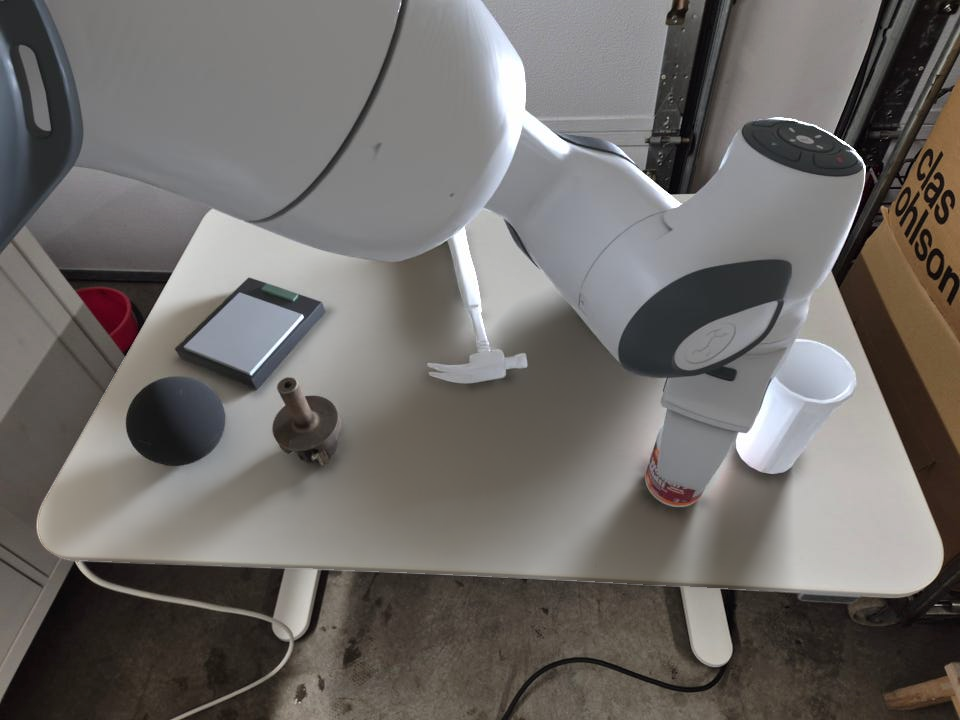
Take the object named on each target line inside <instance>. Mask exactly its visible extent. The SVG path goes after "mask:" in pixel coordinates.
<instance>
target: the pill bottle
mask: <svg viewBox="0 0 960 720" xmlns="http://www.w3.org/2000/svg"><path fill="white" fill-rule="evenodd" d="M662 431H663V425H662V426H661V427H660V428H659V430H658V433H657V435H656V438H655V442H654V445H653V448H652V451H651V454H650V456H649V457H650V458H649V460H648V464H647V466H646V470H645V474H644V481H645V485H646V488H647V489H648V492H649V493H650V494H651V495H652V496H653V497H654V498H655V499H656V500H657V501H659V502H660V503H661V504H664V505H666V506H669V507H672V508H684V507H688V506H691V505H693V504H695V503H696V502H698V501H699V499H701V497H702V495H703V493H704V492H705V489H706V487H707V485H706V486H705V487H704V488H703V489H701V490H693V489H689V488H685V487H682V486H679V485H677V484H674V483H672V482H669V481H667V480H665V479H664V478H662V477H661V476H660V475H659V474H658V471H657V463H658V456H659V449H660V443H661V437H662Z"/></svg>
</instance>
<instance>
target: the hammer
mask: <svg viewBox="0 0 960 720" xmlns="http://www.w3.org/2000/svg"><path fill="white" fill-rule="evenodd" d="M467 239H468V238H467V234H466V228H465V227H464V228H463V229H462V230H460V231H459V232H458V233H457V234H455V235H454V236H453V237H451V238H450V239H448V240H446V241H447V243H448V244H447V245H448V246H449V251H450V253H451V258H452V262H453V266H454V272H455V277H456V282H457V286H458V289H459V293H460V296H461V299H462V302H463V305H464V308H465V312H466V314H467V315H468V316H469V317H470V320H471V326H472V329H473V333H474V338H475V343H476V345H475V346H476V349H477V350H476V351H477V352H476V353H472V354H470V355H469V361H468V363H462V364H441V363H432V362H427V363H426V364H427V367H428V368H430V369H433V370H437V371H440V372H436V371H428V375H429V376H430V377H434V378H437V379H440V380H444V381H447V382H451V383H456V384H475V383H480V382H481V383H483V382H486V381H492V380H498V379H503V378H505V377H506V375H507V370H510V369H518V370H519V369H525V368H527V367H528V360H527V359H528V358H527V355H526V353H525V352H522V353H516V354H515V355H512V356H507V357H506V356H505V354H504V352H503V350H500V349H494V350H491V347H490V342H489V340H488V338H487V333H486V330H485V326H484V322H483V318H482V314H481V313H482V303H481V296H480V290H479V284H478V280H477V275H476V271H475V266H474V264H473V261H472V257H471V254H470V249H469V244H468V240H467Z"/></svg>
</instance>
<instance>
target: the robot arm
mask: <svg viewBox="0 0 960 720" xmlns="http://www.w3.org/2000/svg"><path fill="white" fill-rule="evenodd" d="M519 55H520V54H518V52H517V50H516V49H515V47H514V46H513V44H512V42H511V41H510V40H509V38H508V36H507V35H506V34H505V32H504V31H503V29H502V28H501V26H500V25H499V23H498V22H497V21H496V19H495V17H494V16H493V15H492V13H491V12H490V11H489V9H488V8H487V6H486V5H485V3H484V2H483V1H482V0H0V255H1V254H2V253H3V252H4V251H5V249H6V248H7V247H8V246H9V245H10V244H11V242H12V241H13V240H14V239H15V238H16V237H17V235H18V234H19V233H20V232H21V230H22V229H23V228H24V227H25V226H26V224H27V223H28V222H29V221H30V220H31V218H32V217H33V216H34V215H35V214H36V213H37V212H38V210H39V209H40V208H41V207H42V205H43V204H44V203H45V202H46V201H47V200H48V199H49V197H50V196H51V195H52V193H53V192H54V191H55V190H56V188H57V187H58V186H59V185H60V184H61V182H62V181H63V180H64V179H65V178H66V176H67V175H68V174H69V173H70V172H71V170H72V169H73V168H74V167H76V168H82V169H83V168H84V169H91V170H96V171H101V172H104V173H108V174H112V175H117V176H120V177H122V178H123V177H124V178H127V179H131V180H134V181H138V182H141V183H144V184H147V185H151V186H152V187H156V188H159V189H162V190H164V191H167V192H169V193H172V194H175V195H177V196H180V197H183V198H185V199H188V200H190V201H193V202H195V203H198V204H200V205H203V206H205V207H206V208H210V209H212V210H215V211H217V212H220V213H222V214H224V215H227V216H228V217H231V218H234V219H237V220H239V221H243V222H245V223H247V224H250V225H252V226H255V227H257V228H259V229H262V230H265V231H267V232H270V233H273V234H275V235H278V236H279V237H282V238H284V239H288V240H291V241H294V242H296V243H298V244H302V245H305V246H308V247H311V248H313V249H317V250H320V251H323V252H326V253H327V252H328V253H330V254H334V255H338V256H343V257H349V258H356V259H360V260H361V259H362V260H368V261H376V262H385V263H386V262H388V263H398V262H402V261H405V260H408V259H411V258H414V257H417V256H419V255H422V254H424V253H426V252H429V251H431V250H432V249H435V248H437V247H438V246H440V245H442V244H443V243H445V242H446V241H447V240H448V239H450V238H451V237H453V236H454V235H455V234H457V233H458V232H459V231H460V230H462V229H463V228H465V227H466V226H468V225H469V224H470V223H471V222H472V221H473V220H474V219H475V218H476V217H477V215H478V214H479V213H480V212H481V211H482V210H483V209H484V210H486V211H488V212H490V213H492V214H494V215H497V216H498V217H500V218H501V219H503V221H504V223H505V225H506V227H507V230H508V232H509V234H510V237H511V238H512V240H513V242H514V243H515V245H516V246H517V248H518V249H519V250H520V251H521V252H522V253H523V255H524V256H526V257H527V258H528V260H530V261H531V263H532V264H534V266H535V267H537V269H539V270H540V271H541V272H542V273H543V274H544V275H545V276H546V278H547V279H548V280H549V282H551V284H552V285H553V286H554V287H555V288H556V290H557V291H558V292H559V293H560V294H561V296H562V297H563V298H564V299H565V301H566V302H567V303H568V304H569V305H570V306H571V308H572V309H573V310H574V311H575V312H576V314H577V315H578V316H579V317H580V319H582V321H583V322H584V324H585V325H586V326H587V327H588V328H589V329H590V331H591V332H592V333H593V335H594V336H596V338H597V339H598V341H600V342H601V344H602V345H603V346H604V347H605V349H607V351H608V352H609V353H610V355H612V357H614V359H615V360H617V362H619V364H620V365H621V366H622V367H623V369H624V370H625V371H627V372H628V373H629V374H633V375H636V376H639V377H646V378H652V379H665V382H664V385H663V388H662V395H661V399H660V404H661V406H662V407H663V408H666V411H665V414H664V415H665V416H664V420H663V425H662V426H663V431H662V437H661V443H660V449H659V456H658V463H657V471H658V474H659V475H660V476H661V477H662V478H664V479H665V480H667V481H669V482H672V483H674V484H677V485H679V486H682V487H685V488H689V489H693V490H701V489H703V488H704V487H705V486H706V487H707V485H709V483H710V481H712V479H713V478H714V476H715V474H716V472H717V471H718V470H719V468H720V466H721V465H722V463H723V462H724V460H725V458H726V457H727V455H728V454H729V452H730V450H731V448H733V445H734V443H735V442H736V438H737V436H738V433H739V432H741V433H748V432H749V431H750V430H751V428H752V426H753V424H754V422H755V420H756V417H757V415H758V413H759V411H760V408H761V406H762V403H763V400H764V397H765V394H766V391H767V389H768V386H769V384H770V382H771V381H772V380H773V378H774V377H775V376H776V374H777V373H778V371H779V370H780V368H781V366H782V364H783V363H784V361H785V359H786V357H787V355H788V353H789V351H790V349H791V347H792V345H793V343H794V341H795V340H796V339H798V335H799V334H800V332H801V330H802V327H803V326H804V324H805V322H806V320H807V318H808V315H809V312H810V311H809V310H810V303H811V297H812V295H813V294H815V292H816V291H818V290H819V289H820V288H821V287H822V286H823V284H824V283H825V281H827V279H828V277H829V276H830V273H831V271H832V270H833V268H834V266H835V264H836V261H837V260H838V258H839V256H840V253H841V251H842V249H843V247H844V245H845V243H846V240H847V238H848V236H849V233H850V230H851V228H852V226H853V223H854V220H855V219H856V218H855V217H856V216H857V212H858V209H859V206H860V202H861V200H862V196H863V191H864V187H865V181H866V165H865V163H864V160H863V158H862V157H861V155H859V154H858V151H857V150H856V149H854V148H853V147H852V146H850V144H847V143H846V142H845V141H843V140H842V139H840V138H838V137H837V136H835V134H832V133H831V132H829V131H826V130H824V129H822V128H820V127H818V126H817V125H814V124H811V123H807V122H803V121H800V120H799V121H798V120H797V119H794V118H793V119H792V118H786V117H785V118H784V117H766V118H759V119H754V120H749V121H748V122H746V123H744V124H743V125H742V126H741V127H740V128H739V129H738V130H737V132H736V133H735V135H734V136H733V138H732V140H731V142H730V144H729V146H728V148H727V150H726V151H725V154H724V155H723V158H722V160H721V163H720V165H719V167H718V170H717V171H716V172H715V174H714V175H713V176H712V177H711V178H710V179H709V181H707V183H705V185H703V186H702V187H701V188H700V189H699V190H698V191H697V192H695V194H694V195H692V196H690V197H689V198H688V199H687V200H685V201H684V202H682V203H680V202H679V201H678V200H677V199H676V198H674V197H673V196H672V195H671V194H670V193H668V192H667V191H666V190H664V189H663V188H662V187H661V186H660V185H659V184H658V183H656V182H655V181H654V180H652V179H651V178H650V177H649V176H648V175H646V173H644V172H643V170H641V168H640V167H639V166H638V165H637V163H635V162H634V161H633V160H632V159H631V158H630V157H629V156H628V155H627V154H626V153H625V152H624V150H622V149H621V148H620V147H619V146H618V145H616V144H614V143H612V142H611V141H608V140H606V139H602V138H597V137H593V136H584V135H575V134H569V133H568V134H567V133H562V132H558V131H555V130H553V129H551V128H550V127H548V126H547V125H546V124H545V123H543V122H542V121H540V120H539V119H538V118H537V117H536V116H534V115H533V114H532V113H531V112H529V111H528V110H527V109H526V75H525V68H524V63H523V61H522V58H521V56H519ZM706 487H705V488H706Z"/></svg>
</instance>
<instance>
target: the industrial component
mask: <svg viewBox="0 0 960 720" xmlns="http://www.w3.org/2000/svg"><path fill="white" fill-rule="evenodd" d="M276 385H277V386H276V389H277V392H278V394H279V395H280V398H281V400H282V402H283V403H284V406H282V407H281V408H280V410H278V412H277V414H276V415H275V416H274V419H273V422H272V429H271V430H272V436H273V438H274V440H275V443H276V444H277V445H278V447H279V448H280V449H281V451H283V452H284V454H286V455H290V454H292V453H294V452H295V453H296V454H297V456H298V458H299V460H301V461H303V462H305V463H307V464H312V463H313V462H314V461H318V463H319V465H320V466H325V465H327V464H328V463H329V462H330V458H331V457H332V456H333V455H334V454H335V452H336V450H337V448H338V437H339V435H340V432H341V429H342V420H341V416H340V414H339V411H338V409H337V407H336V406H335V403H333V402H332V401H331V400H329V399H328V398H326V397H324V396H321V395H305V394H304V392H303V390H302V388H301V385H300V383H299V381H298V379H296V378H295V377H292V376H291V377H289V376H287V377H284V378H282V379H281V380H280V381H279V382H278V383H277V384H276Z"/></svg>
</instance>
